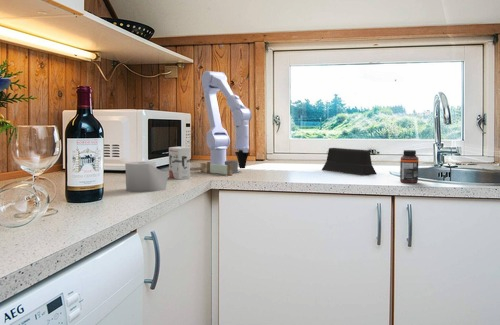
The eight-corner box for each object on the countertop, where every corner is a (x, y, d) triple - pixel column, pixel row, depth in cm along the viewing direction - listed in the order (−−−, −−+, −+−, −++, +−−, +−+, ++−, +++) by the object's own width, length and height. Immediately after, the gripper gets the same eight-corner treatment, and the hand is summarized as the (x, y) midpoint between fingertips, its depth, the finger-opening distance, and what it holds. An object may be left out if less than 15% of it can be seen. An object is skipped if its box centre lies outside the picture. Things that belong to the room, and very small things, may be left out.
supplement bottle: (403, 180, 155) (404, 149, 154) (420, 182, 151) (421, 150, 150) (397, 182, 150) (398, 150, 149) (414, 184, 146) (415, 151, 145)
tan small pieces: (200, 171, 182) (200, 161, 182) (202, 171, 183) (202, 161, 183) (229, 175, 170) (229, 164, 169) (232, 175, 171) (232, 164, 170)
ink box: (168, 177, 165) (167, 146, 164) (179, 176, 168) (179, 146, 167) (179, 179, 159) (178, 148, 157) (190, 178, 161) (190, 147, 160)
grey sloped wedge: (171, 190, 135) (170, 163, 134) (128, 192, 129) (127, 164, 129) (165, 186, 143) (164, 160, 142) (124, 188, 138) (123, 162, 137)
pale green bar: (210, 172, 178) (209, 163, 178) (213, 171, 180) (213, 163, 179) (226, 174, 171) (226, 165, 171) (230, 174, 172) (229, 165, 172)
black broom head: (377, 174, 174) (377, 150, 173) (362, 176, 169) (363, 151, 168) (335, 169, 193) (335, 147, 192) (321, 170, 189) (321, 148, 188)
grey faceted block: (220, 173, 177) (220, 161, 177) (231, 172, 182) (231, 160, 181) (227, 174, 175) (227, 162, 174) (237, 173, 179) (237, 161, 178)
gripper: (229, 136, 188) (229, 166, 190) (236, 137, 174) (236, 170, 176) (245, 135, 190) (245, 166, 191) (253, 137, 176) (253, 169, 177)
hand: (242, 168), depth 184 cm, fingers closed
